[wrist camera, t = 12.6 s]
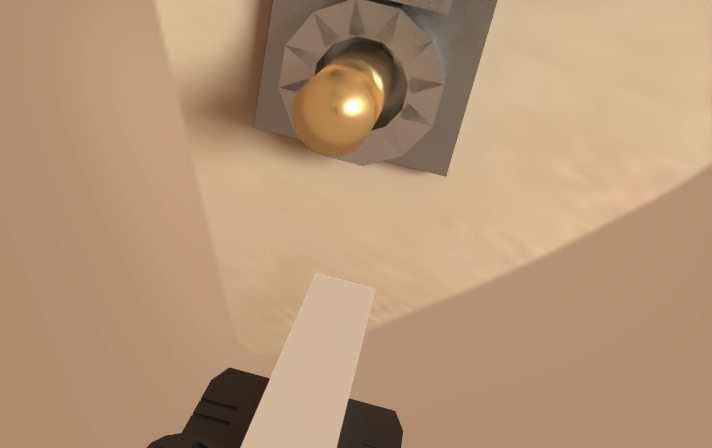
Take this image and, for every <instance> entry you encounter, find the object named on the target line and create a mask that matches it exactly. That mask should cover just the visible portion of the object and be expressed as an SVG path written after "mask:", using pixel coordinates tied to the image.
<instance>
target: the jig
mask: <svg viewBox="0 0 712 448" xmlns="http://www.w3.org/2000/svg"><path fill="white" fill-rule="evenodd" d="M496 3H497V0H273V4H272V11H271V17H270V24H269V30H268V37H267V44H266V50H265V57H264V63H263V70H262V76H261V83H260V89H259V96H258V102H257V109H256V115H255V122H254V128H257V129H261V130H265V131H269V132H273V133H277V134H281V135H285V136H289V137H293V138H297V139H300V138H299V137H298V135H297V134H296V131H295V129H294V126H293V123H292V115H291V112H292V105H293V101H294V98H295V96H296V94H297V93H298V91H299V90H300V89H301V88H302V87H303V86H304V85H305V84H306V83H307V82H308V81H309V80H311V79H312V78H313V77H314V76H315V75H316V74H317V73H319V72H320V71H321V70H322V69H323V68H324V67H326V66H327V65H328V64H329V63H330V62H331V61H333V60H334V59H335V58H336V57H337V56H338V55H340V54H341V53H342V52H343V51H344V50H346V49H347V48H349V47H351V46H354V45H357V44H369V45H373V46H375V47H378V48H379V49H381V50H382V51H384V52H385V53H386V54H387V55H388V56H389V58H390V59H391V61H392V63H393V65H394V68H395V73H396V82H395V86H394V89H393V92H392V93H391V95H390V97H389V99H388V101H387V103H386V104H385V106H384V108H383V110H382V112H381V113H380V115H379V117H378V119H377V121H376V122H375V124H374V126H373V128H372V130H371V131H370V133H369V135H368V137H367V139H366V140H365V141H364V143H363V144H362V145H361V146H360V147H359V148H358V149H356V150H355V151H353V152H351V153H349V154H346V155H343V156H327V157H330V158H334V159H338V160H342V161H346V162H350V163H354V164H358V165H362V166H365V165H369V164H373V163H377V162H380V161H387V162H391V163H395V164H399V165H403V166H407V167H410V168H414V169H418V170H422V171H426V172H430V173H434V174H438V175H442V176H446V175H447V171H448V168H449V165H450V161H451V158H452V154H453V151H454V147H455V144H456V141H457V137H458V134H459V130H460V127H461V123H462V120H463V117H464V113H465V110H466V106H467V103H468V99H469V96H470V93H471V89H472V86H473V82H474V79H475V75H476V72H477V69H478V65H479V62H480V58H481V55H482V51H483V48H484V45H485V41H486V38H487V34H488V31H489V27H490V24H491V21H492V17H493V14H494V10H495V7H496ZM323 156H325V155H323Z"/></svg>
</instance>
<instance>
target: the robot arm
mask: <svg viewBox="0 0 712 448" xmlns="http://www.w3.org/2000/svg"><path fill="white" fill-rule="evenodd" d="M375 289H376V288H372V287H368V286H365V285H361V284H357V283H353V282H350V281H346V280H342V279H338V278H334V277H331V276H327V275H323V274H319V273H315V276H314V278H313V280H312V283H311V285H310V287H309V290H308V292H307V294H306V297H305V299H304V301H303V304H302V306H301V308H300V311H299V313H298V315H297V318H296V320H295V322H294V324H293V327H292V329H291V331H290V334H289V336H288V338H287V341H286V343H285V345H284V348H283V350H282V352H281V355H280V357H279V359H278V362H277V364H276V366H275V368H274V371H273V373H272V376H271V378H266V377H262V376H258V375H255V374H251V373H247V372H244V371H240V370H236V369H233V368H228V369H227V370H225V371H224V372H222V373H221V374H220V375H218V376H217V377H215V378H214V379H212V380H211V382H210V383H209V385H208V387H207V389H206V391H205V392H204V394H203V396H202V398H201V401H199V403H198V405H197V407H196V408H195V410H194V412H193V415H192V416H191V417H190V419H189V421H188V423H187V424H186V426H185V428H184V430H183V432H182V433H180V434H174V435H167V436H164V437H162V438H160V439H158V440H156V441H154V442H152V443H151V444H150V445H149V446H148V447H147V448H401V443H402V435H403V430H402V427H401V425H400V422H399V420H398V417H397V414H396V412H395V411H393V410H389V409H386V408H382V407H379V406H374V405H371V404H367V403H364V402H360V401H356V400H353V399H349V395H350V391H351V387H352V383H353V378H354V374H355V371H356V366H357V362H358V358H359V354H360V350H361V346H362V342H363V337H364V334H365V330H366V326H367V322H368V318H369V314H370V309H371V305H372V301H373V297H374V293H375Z"/></svg>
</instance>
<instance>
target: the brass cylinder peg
mask: <svg viewBox="0 0 712 448" xmlns="http://www.w3.org/2000/svg"><path fill="white" fill-rule="evenodd" d="M395 82H396V73H395V68H394V65H393V63H392V61H391V59H390V58H389V56H388V55H387V54H386V53H385V52H384V51H382V50H381V49H379V48H378V47H375V46H373V45H369V44H357V45H354V46H351V47H349V48H347V49H346V50H344V51H343V52H342V53H341V54H340V55H338V56H337V57H336V58H335V59H334V60H333V61H331V62H330V63H329V64H328V65H327V66H326V67H324V68H323V69H322V70H321V71H320V72H319V73H317V74H316V75H315V76H314V77H313V78H312V79H311V80H309V81H308V82H307V83H306V84H305V85H304V86H303V87H302V88H301V89H300V90H299V91H298V93H297V94H296V96H295V98H294V101H293V105H292V112H291V115H292V123H293V126H294V129H295V131H296V134H297V135H298V137H299V138H300V140H301V141H302V142H303V143H304V144H305V145H306V146H307V147H308V148H310V149H311V150H313V151H315V152H317V153H319V154H322V155H325V156H343V155H346V154H349V153H351V152H353V151H355V150H356V149H358V148H359V147H360V146H361V145H362V144H363V143H364V141H365V140H366V139H367V137H368V135H369V133H370V131H371V130H372V128H373V126H374V124H375V122H376V121H377V119H378V117H379V115H380V113H381V112H382V110H383V108H384V106H385V104H386V103H387V101H388V99H389V97H390V95H391V93H392V92H393V89H394V86H395Z"/></svg>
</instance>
